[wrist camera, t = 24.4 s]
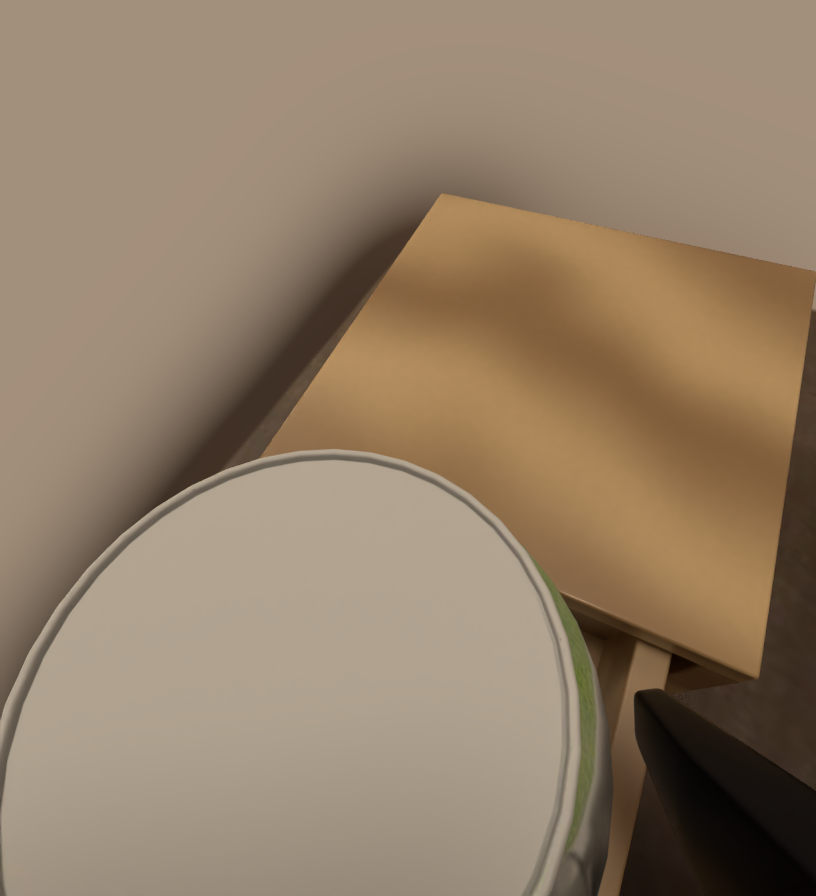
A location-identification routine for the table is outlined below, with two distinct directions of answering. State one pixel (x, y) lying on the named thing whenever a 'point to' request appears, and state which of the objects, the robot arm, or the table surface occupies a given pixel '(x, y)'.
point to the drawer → (622, 726)
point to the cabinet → (590, 412)
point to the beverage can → (309, 702)
